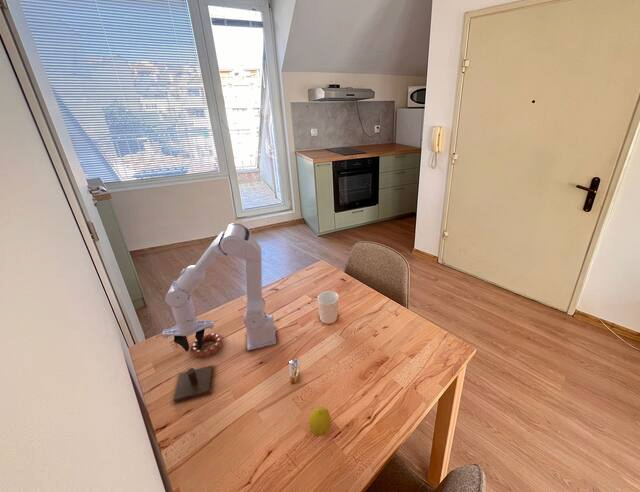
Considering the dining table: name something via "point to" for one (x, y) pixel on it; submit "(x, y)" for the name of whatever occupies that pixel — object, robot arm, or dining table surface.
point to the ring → (295, 364)
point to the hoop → (212, 350)
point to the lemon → (320, 421)
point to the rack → (193, 383)
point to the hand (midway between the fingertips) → (194, 347)
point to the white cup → (328, 306)
